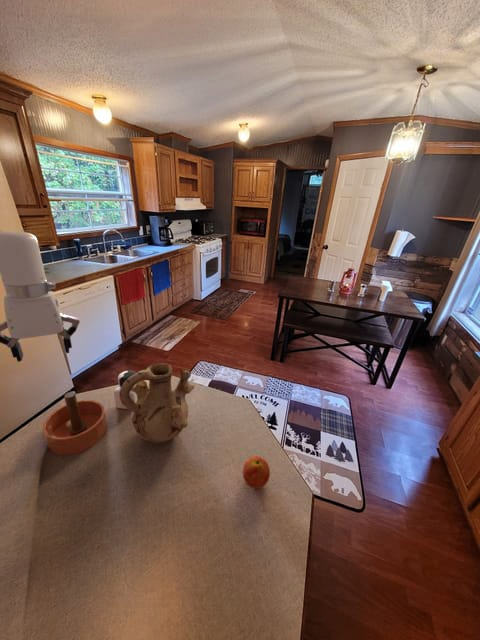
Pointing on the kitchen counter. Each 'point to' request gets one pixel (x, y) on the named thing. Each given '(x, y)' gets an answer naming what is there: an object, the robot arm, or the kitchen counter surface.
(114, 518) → the kitchen counter surface
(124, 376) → the medicine bottle
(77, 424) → the pestle
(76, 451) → the bowl
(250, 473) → the fruit
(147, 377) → the ceramic vessel
